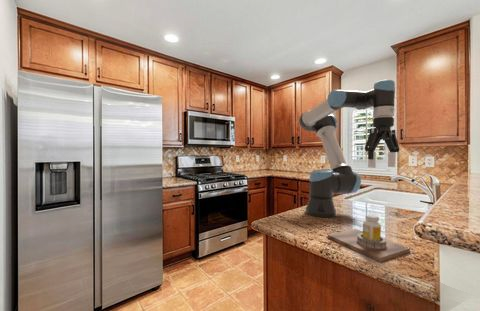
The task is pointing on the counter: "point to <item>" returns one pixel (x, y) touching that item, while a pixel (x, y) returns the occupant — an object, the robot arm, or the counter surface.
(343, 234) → the ring board
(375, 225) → the supplement bottle
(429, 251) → the counter surface
